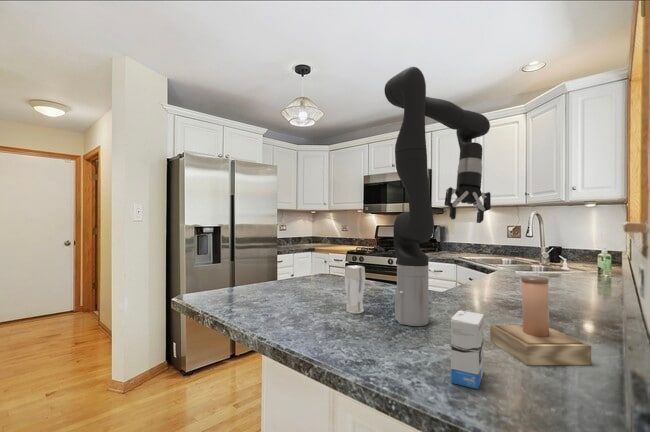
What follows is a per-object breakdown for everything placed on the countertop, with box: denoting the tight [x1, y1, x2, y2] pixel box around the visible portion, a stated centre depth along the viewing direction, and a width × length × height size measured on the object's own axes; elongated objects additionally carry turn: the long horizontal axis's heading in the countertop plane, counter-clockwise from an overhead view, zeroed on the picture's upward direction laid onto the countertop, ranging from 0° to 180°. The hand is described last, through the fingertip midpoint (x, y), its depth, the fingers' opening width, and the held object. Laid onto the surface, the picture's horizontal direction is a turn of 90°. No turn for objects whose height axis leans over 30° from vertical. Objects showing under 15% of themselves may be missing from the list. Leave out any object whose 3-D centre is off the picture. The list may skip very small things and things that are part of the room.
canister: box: [520, 275, 550, 337], centre depth 75 cm, size 5×5×13 cm
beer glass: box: [344, 264, 366, 314], centre depth 109 cm, size 7×7×15 cm
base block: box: [489, 324, 592, 366], centre depth 75 cm, size 14×14×4 cm
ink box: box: [450, 310, 485, 390], centre depth 62 cm, size 8×5×12 cm, turn 148°
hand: (466, 221), depth 106 cm, fingers open, 8 cm apart
